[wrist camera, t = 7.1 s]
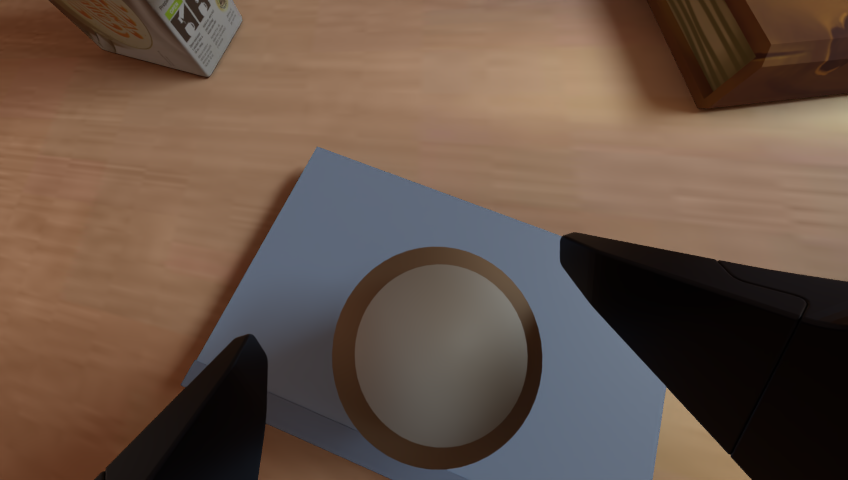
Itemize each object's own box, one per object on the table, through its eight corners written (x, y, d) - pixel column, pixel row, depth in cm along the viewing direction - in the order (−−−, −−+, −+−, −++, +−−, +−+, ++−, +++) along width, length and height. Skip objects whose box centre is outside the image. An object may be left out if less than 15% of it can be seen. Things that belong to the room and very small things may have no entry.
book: (598, 544, 17) (638, 589, 14) (218, 377, 18) (180, 385, 15) (644, 289, 21) (683, 280, 18) (329, 171, 22) (316, 145, 19)
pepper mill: (419, 421, 15) (429, 560, 6) (354, 336, 16) (272, 334, 7) (494, 348, 16) (610, 362, 7) (429, 273, 17) (451, 194, 8)
